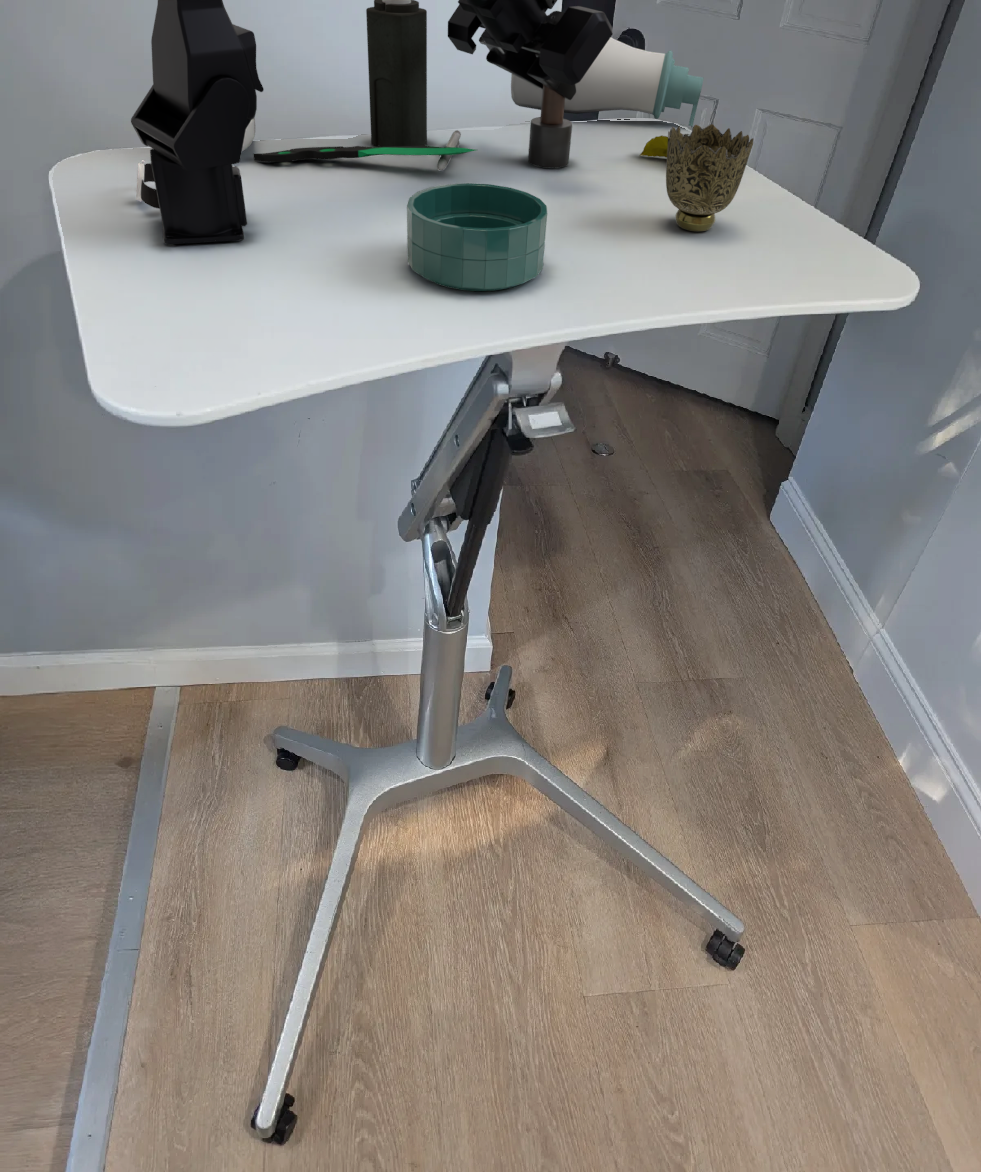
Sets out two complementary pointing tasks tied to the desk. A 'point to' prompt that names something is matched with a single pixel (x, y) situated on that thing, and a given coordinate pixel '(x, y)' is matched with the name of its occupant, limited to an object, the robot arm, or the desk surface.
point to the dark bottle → (397, 72)
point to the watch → (143, 190)
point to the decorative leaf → (656, 147)
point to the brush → (550, 133)
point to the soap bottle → (623, 84)
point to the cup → (704, 173)
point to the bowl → (476, 236)
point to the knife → (354, 152)
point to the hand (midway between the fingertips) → (563, 93)
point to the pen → (452, 142)
